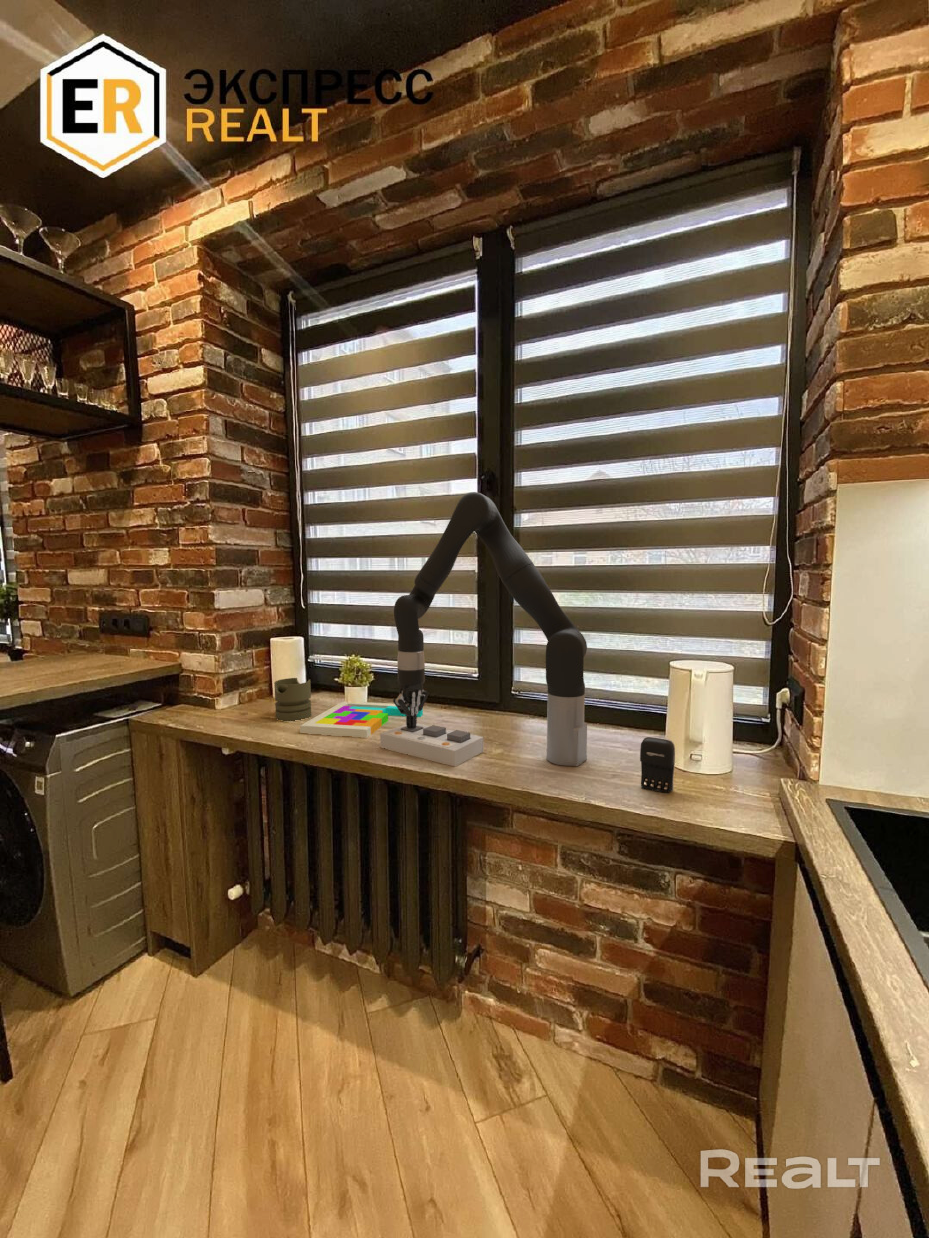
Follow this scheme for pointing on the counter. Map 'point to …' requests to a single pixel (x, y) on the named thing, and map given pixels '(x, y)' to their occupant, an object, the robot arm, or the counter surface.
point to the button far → (412, 729)
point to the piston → (292, 699)
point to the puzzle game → (352, 719)
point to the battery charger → (657, 764)
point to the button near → (458, 736)
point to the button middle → (434, 731)
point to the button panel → (431, 745)
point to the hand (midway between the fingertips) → (411, 727)
